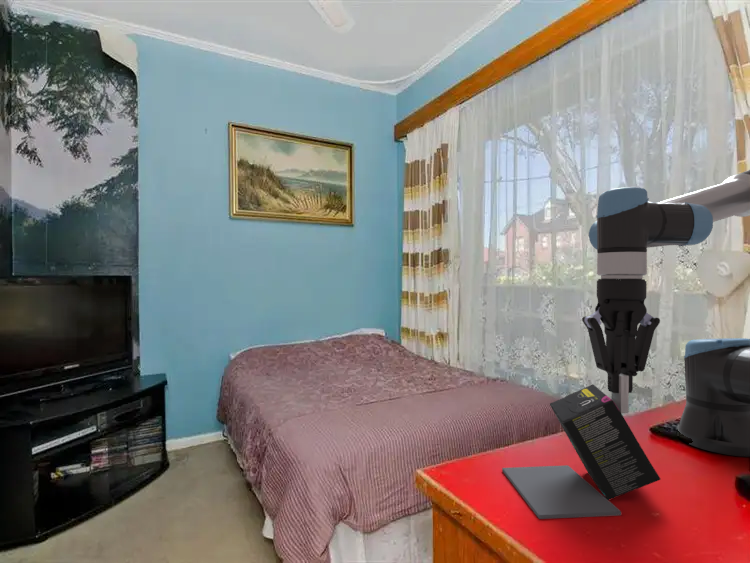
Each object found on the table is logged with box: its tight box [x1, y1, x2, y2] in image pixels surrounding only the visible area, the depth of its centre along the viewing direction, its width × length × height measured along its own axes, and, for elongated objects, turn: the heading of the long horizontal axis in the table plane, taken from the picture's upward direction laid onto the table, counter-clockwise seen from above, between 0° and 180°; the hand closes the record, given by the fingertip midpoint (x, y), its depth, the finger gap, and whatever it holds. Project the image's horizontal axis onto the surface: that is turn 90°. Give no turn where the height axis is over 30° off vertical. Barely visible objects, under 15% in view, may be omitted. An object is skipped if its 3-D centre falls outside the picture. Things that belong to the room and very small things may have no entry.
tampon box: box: [549, 384, 661, 501], centre depth 72 cm, size 11×9×15 cm
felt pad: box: [501, 464, 622, 520], centre depth 71 cm, size 13×16×1 cm
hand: (619, 410), depth 72 cm, fingers closed
